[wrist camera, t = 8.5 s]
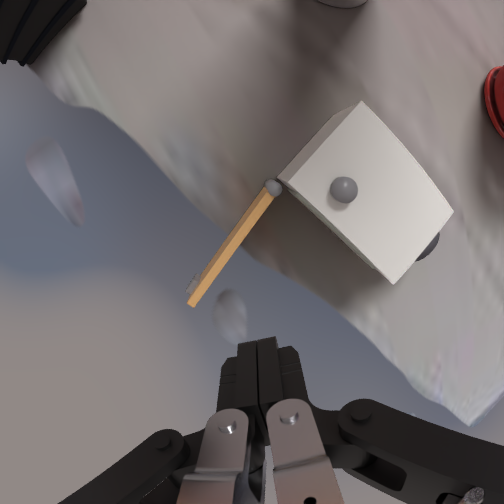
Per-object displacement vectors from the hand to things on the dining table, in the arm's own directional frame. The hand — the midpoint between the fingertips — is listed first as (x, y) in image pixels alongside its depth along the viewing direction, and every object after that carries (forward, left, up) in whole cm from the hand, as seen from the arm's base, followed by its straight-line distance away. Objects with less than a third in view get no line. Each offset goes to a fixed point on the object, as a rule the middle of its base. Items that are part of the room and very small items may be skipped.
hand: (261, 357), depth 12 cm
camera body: (-11, +5, -21) cm, 24 cm away
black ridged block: (-4, -37, -21) cm, 43 cm away
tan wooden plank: (+1, -2, -21) cm, 21 cm away
